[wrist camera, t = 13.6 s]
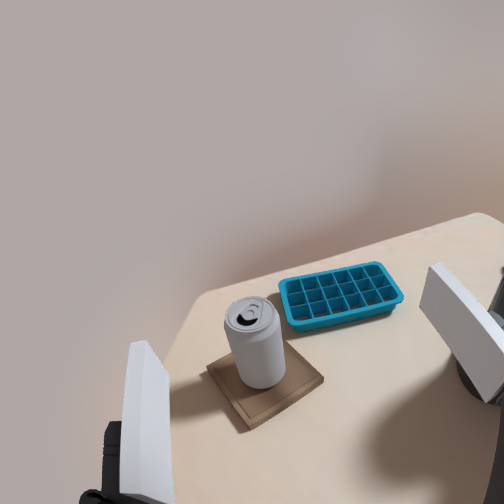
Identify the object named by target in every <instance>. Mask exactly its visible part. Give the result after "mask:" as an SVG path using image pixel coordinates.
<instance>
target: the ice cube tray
mask: <svg viewBox="0 0 504 504" xmlns="http://www.w3.org/2000/svg"><path fill="white" fill-rule="evenodd" d="M369 276H374V277H369ZM360 278H361V279H360ZM355 279H360V280H356V281H354V280H355ZM346 281H347V282H346ZM341 282H346V283H342V284H338V283H341ZM327 285H332V286H327ZM278 286H279V290H280V294H281V298H282V302H283V306H284V310H285V314H286V318H287V322H288V324H290V325H291V326H293V328H294V330H295V331H297V332H304V331H309V330H314V329H319V328H323V327H328V326H332V325H337V324H341V323H345V322H350V321H354V320H358V319H362V318H366V317H370V316H374V315H378V314H382V313H385V312H389V311H392V310H394V309H395V307H396V304H398V303H401V302H402V301H403V299H404V295H403V293H402V292H401V290H400V289H399V287H398V286H397V285H396V283H395V282H394V280H393V279H392V277H391V276H390V274H389V273H388V272H387V270H386V269H385V267H384V266H383V265H382V264H381V263H379V262H375V261H374V262H369V263H364V264H359V265H354V266H349V267H344V268H339V269H334V270H329V271H324V272H319V273H314V274H308V275H303V276H298V277H292V278H287V279H283V280H281V281H280V282H279V284H278ZM322 286H327V287H322ZM379 286H382V287H381V288H376V287H379ZM312 288H317V289H312ZM306 289H312V290H307V291H305V290H306ZM367 289H368V291H363V292H360V291H362V290H367ZM296 291H301V292H297V293H291V292H296ZM289 293H291V294H289ZM349 293H353V294H350V295H346V296H344V294H349ZM335 296H337V297H336V298H332V299H326V298H330V297H335ZM386 297H389V298H390V301H386V302H384V300H383V299H382V298H386ZM316 300H321V301H317V302H312V303H309V302H311V301H316ZM369 301H375V303H376V304H374V305H370V306H368V305H367V303H366V302H369ZM301 303H305V304H302V305H297V306H292V307H290V305H296V304H301ZM357 304H359V306H360V308H358V309H353V310H351V309H350V307H349V306H353V305H357ZM339 308H343V310H344V312H340V313H336V314H333V313H332V311H331V310H335V309H339ZM321 312H326V313H327V316H322V317H317V318H314V316H313V314H316V313H321ZM306 315H309V318H310V319H307V320H302V321H296V320H294V319H293V318H296V317H301V316H306Z"/></svg>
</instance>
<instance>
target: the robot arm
mask: <svg viewBox="0 0 504 504" xmlns="http://www.w3.org/2000/svg"><path fill="white" fill-rule="evenodd" d="M419 308H420V309H421V310H422V311H423V313H424V314H425V315H426V317H427V318H428V319H429V321H430V322H431V323H432V325H433V326H434V327H435V329H436V330H437V332H438V333H439V334H440V336H441V337H442V338H443V340H444V341H445V343H446V344H447V345H448V347H449V348H450V350H451V351H452V353H453V354H454V356H455V357H456V358H457V367H458V371H459V374H460V377H461V379H462V381H463V383H464V384H465V386H466V387H467V388H468V390H469V391H470V392H471V393H472V394H473V395H475V396H476V397H477V398H479V399H481V400H483V401H484V402H485V404H486V403H491V404H495V405H496V406H497V405H498V404H500V405H499V406H502V408H501V419H500V427H499V435H498V442H497V448H496V453H495V459H494V464H493V469H492V473H491V477H490V481H489V485H488V489H487V493H486V497H485V500H484V503H483V504H504V273H503V276H502V278H501V281H500V283H499V286H498V288H497V291H496V293H495V295H494V298H493V300H492V302H491V304H490V307H489V309H488V311H486V310H485V308H484V307H483V306H482V305H481V304H480V303H479V302H478V300H477V299H476V298H475V297H474V296H473V295H472V294H471V293H470V292H469V291H468V290H467V288H466V287H465V286H464V285H463V284H462V283H461V282H460V281H459V280H458V279H457V278H456V277H455V276H454V275H453V274H452V273H451V272H450V271H449V270H448V269H447V268H446V267H445V266H444V265H443V264H442V263H441V262H438V263H435V264H433V265H430V266H429V269H428V273H427V278H426V282H425V286H424V290H423V294H422V297H421V301H420V305H419ZM123 402H124V403H123V413H122V421H110V422H109V424H108V427H107V429H106V431H105V435H104V448H103V455H104V456H103V465H102V489H101V491H98V490H96V489H93V490H92V489H90V490H87V491H85V492H84V493H83V494H82V495H81V497H80V500H79V504H175V499H174V488H173V475H172V459H171V439H170V402H169V374H168V372H167V371H166V370H165V368H164V367H163V365H162V364H161V362H160V361H159V359H158V358H157V356H156V354H155V353H154V351H153V350H152V348H151V347H150V345H149V344H148V342H147V340H143V341H137V342H132V343H130V350H129V357H128V364H127V373H126V381H125V391H124V401H123Z"/></svg>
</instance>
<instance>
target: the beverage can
mask: <svg viewBox="0 0 504 504" xmlns="http://www.w3.org/2000/svg"><path fill="white" fill-rule="evenodd" d="M224 329H225V332H226V335H227V338H228V342H229V345H230V348H231V351H232V354H233V357H234V360H235V363H236V366H237V369H238V372H239V375H240V378H241V379H242V381H243V382H244V383H245V384H246V385H248V386H250V387H252V388H257V389H264V388H269V387H272V386H274V385H275V384H277V383H278V382H279V381H280V380H281V379H282V378H283V376H284V374H285V370H286V366H285V358H284V349H283V341H282V333H281V325H280V317H279V314H278V312H277V310H276V309H275V307H274V305H273V304H272V303H271V302H270V301H269V300H267V299H265V298H262V297H254V296H253V297H246V298H242V299H240V300H237V301H236V302H234V303H233V304H232V305H230V306H229V308H228V309H227V311H226V313H225V321H224Z"/></svg>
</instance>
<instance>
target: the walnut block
mask: <svg viewBox="0 0 504 504" xmlns="http://www.w3.org/2000/svg"><path fill="white" fill-rule="evenodd" d="M282 341H283V349H284V358H285V366H286V370H285V374H284V376H283V378H282V379H281V380H280V381H279V382H278V383H277V384H275V385H274V386H272V387H269V388H264V389H257V388H252V387H250V386H248V385H246V384H245V383H244V382H243V381H242V379H241V378H240V375H239V372H238V369H237V366H236V363H235V360H234V357H233V354H232V352H231V353H230V354H228V355H226V356H224V357H222V358H220V359H219V360H217V361H215V362H213V363H211V364H209V365H207V366H206V367H207V369H208V371H209V373H210V374H211V376H212V377H213V379H214V380H215V382H216V383H217V385H218V386H219V388H220V389H221V391H222V392H223V393H224V395H225V396H226V398H227V399H228V400H229V402H230V403H231V405H232V406H233V407H234V409H235V410H236V412H237V413H238V414H239V416H240V417H241V418H242V420H243V421H244V422H245V424H246V425H247V426H248V428H249V429H250V430H252V429H254V428H256V427H257V426H259V425H261V424H262V423H264V422H266V421H267V420H269V419H270V418H272V417H274V416H275V415H277V414H278V413H280V412H281V411H283V410H284V409H286V408H288V407H289V406H291V405H292V404H294V403H295V402H296V401H298V400H299V399H301V398H302V397H304V396H305V395H307V394H308V393H309V392H311V391H312V390H314V389H315V388H316V387H318V386H319V385H321V384H322V383H323V382H324V377H323V376H322V375H321V374H320V373H319V372H318V371H317V370H316V369H315V368H314V367H313V366H312V365H311V364H310V363H309V362H307V361H306V360H305V359H304V358H303V357H302V356H301V355H300V354H299V353H298V352H297V351H296V350H295V349H294V348H293V347H292V346H291V345H290V344H289V343H288V342H287V341H285V340H284V339H283V338H282Z"/></svg>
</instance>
